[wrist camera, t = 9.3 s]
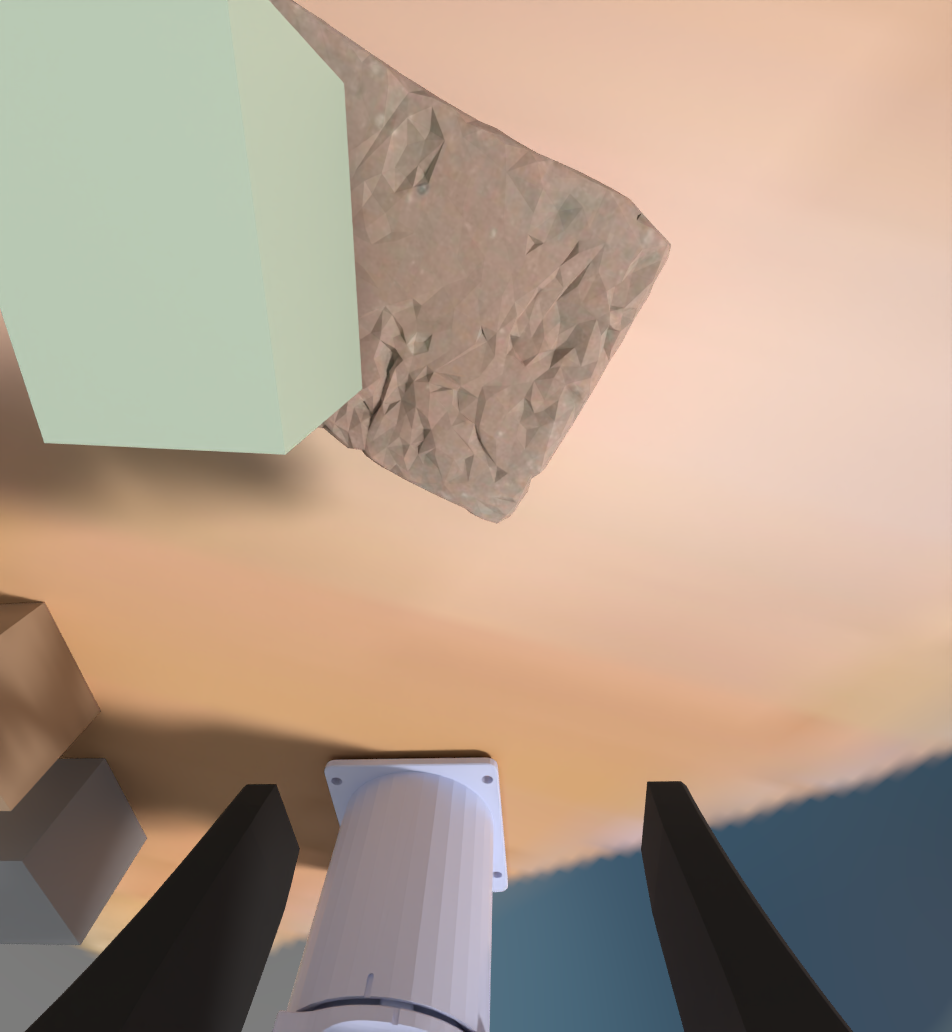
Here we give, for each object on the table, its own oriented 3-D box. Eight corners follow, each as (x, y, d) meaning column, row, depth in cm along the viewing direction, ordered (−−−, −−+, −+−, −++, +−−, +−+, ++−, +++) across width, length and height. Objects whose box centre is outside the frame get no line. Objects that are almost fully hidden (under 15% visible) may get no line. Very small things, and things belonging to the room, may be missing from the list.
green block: (362, 388, 13) (285, 454, 9) (202, 382, 13) (44, 443, 9) (343, 83, 11) (220, -54, 6) (146, 78, 11) (-121, -58, 6)
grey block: (147, 836, 28) (80, 944, 24) (77, 836, 29) (-3, 943, 24) (106, 756, 26) (21, 860, 21) (29, 757, 26) (-70, 860, 22)
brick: (35, 240, 16) (-129, 233, 12) (76, -106, 13) (-132, -284, 9) (510, 477, 19) (512, 540, 15) (647, 242, 16) (701, 236, 11)
